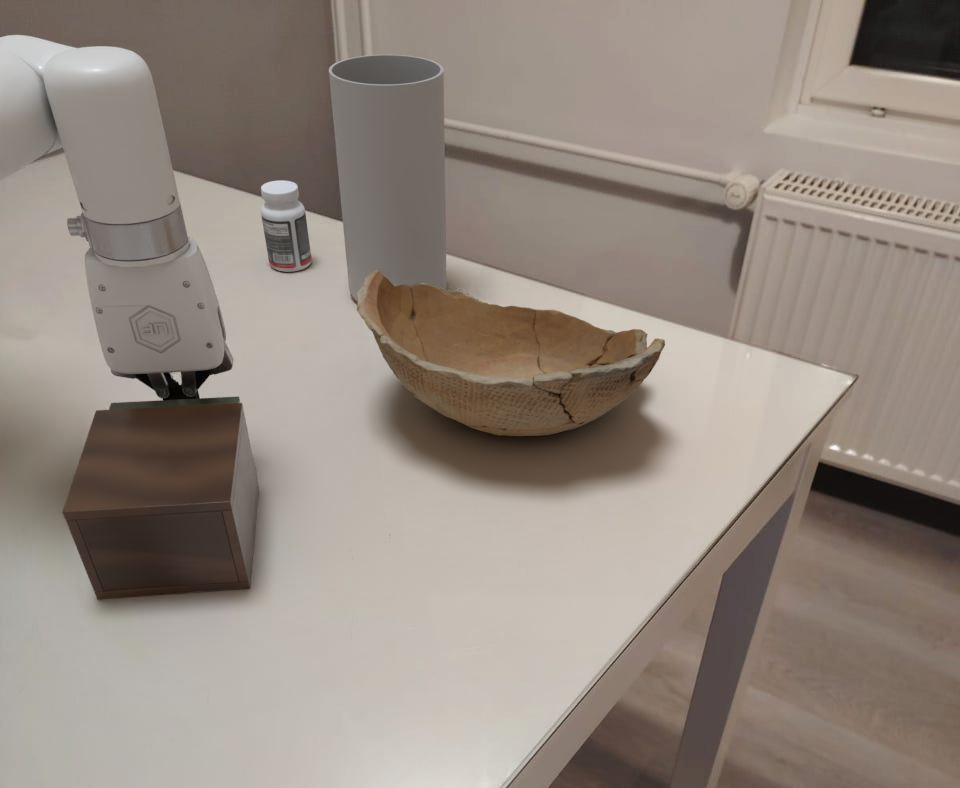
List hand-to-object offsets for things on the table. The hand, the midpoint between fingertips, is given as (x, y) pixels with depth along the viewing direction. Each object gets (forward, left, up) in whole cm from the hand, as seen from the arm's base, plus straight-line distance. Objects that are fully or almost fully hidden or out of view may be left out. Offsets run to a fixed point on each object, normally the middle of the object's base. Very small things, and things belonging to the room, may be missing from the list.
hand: (189, 427), depth 86 cm
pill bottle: (+8, +46, -4) cm, 47 cm away
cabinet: (0, -12, -4) cm, 12 cm away
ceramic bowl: (+32, +7, -4) cm, 33 cm away
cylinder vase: (+22, +36, -4) cm, 43 cm away
